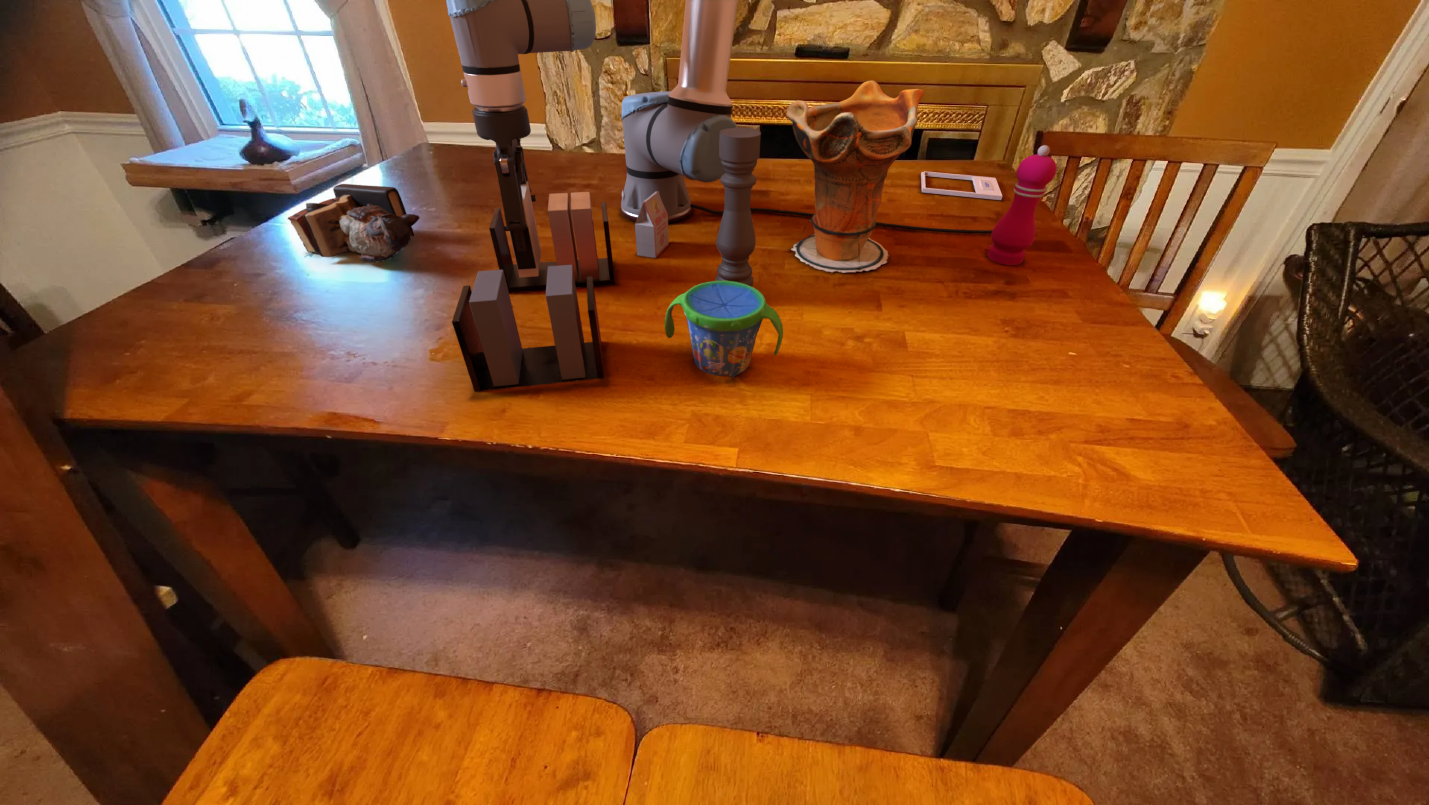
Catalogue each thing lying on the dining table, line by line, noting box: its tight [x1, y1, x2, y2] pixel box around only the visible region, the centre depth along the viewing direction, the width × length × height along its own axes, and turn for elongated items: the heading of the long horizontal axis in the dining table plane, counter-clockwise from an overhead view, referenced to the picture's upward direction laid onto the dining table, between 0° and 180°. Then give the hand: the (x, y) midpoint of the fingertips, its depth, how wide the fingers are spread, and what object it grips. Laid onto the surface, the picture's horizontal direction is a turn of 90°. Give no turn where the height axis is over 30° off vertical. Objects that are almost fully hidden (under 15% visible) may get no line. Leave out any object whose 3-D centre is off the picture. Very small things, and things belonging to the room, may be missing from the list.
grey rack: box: [451, 276, 605, 393], centre depth 71 cm, size 16×9×11 cm, turn 101°
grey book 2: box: [545, 265, 586, 380], centre depth 71 cm, size 3×8×12 cm, turn 11°
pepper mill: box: [986, 144, 1058, 266], centre depth 98 cm, size 7×7×20 cm
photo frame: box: [920, 170, 1003, 201], centre depth 137 cm, size 15×1×18 cm
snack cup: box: [664, 280, 784, 380], centre depth 73 cm, size 16×10×10 cm
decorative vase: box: [785, 80, 925, 274], centre depth 96 cm, size 21×23×28 cm
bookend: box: [287, 183, 421, 263], centre depth 100 cm, size 15×11×25 cm
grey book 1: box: [469, 269, 523, 387], centre depth 69 cm, size 3×8×12 cm, turn 11°
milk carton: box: [634, 191, 670, 259], centre depth 102 cm, size 4×7×10 cm, turn 163°
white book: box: [508, 181, 542, 277], centre depth 90 cm, size 3×10×12 cm, turn 11°
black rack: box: [488, 191, 616, 294], centre depth 92 cm, size 18×9×13 cm, turn 101°
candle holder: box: [715, 126, 762, 288], centre depth 83 cm, size 6×6×25 cm
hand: (529, 254), depth 92 cm, fingers closed on white book, 10 cm apart
